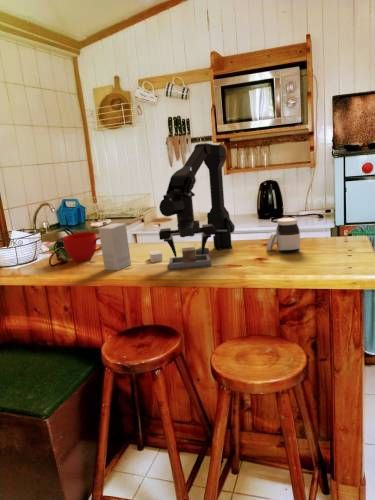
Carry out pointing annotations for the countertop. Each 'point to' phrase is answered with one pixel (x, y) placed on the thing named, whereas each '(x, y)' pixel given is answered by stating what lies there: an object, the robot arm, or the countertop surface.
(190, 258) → the walnut block
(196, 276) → the countertop surface
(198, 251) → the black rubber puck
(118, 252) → the skincare box
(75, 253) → the ceramic cup
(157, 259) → the off-white plastic block
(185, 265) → the charcoal tray
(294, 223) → the spread jar
